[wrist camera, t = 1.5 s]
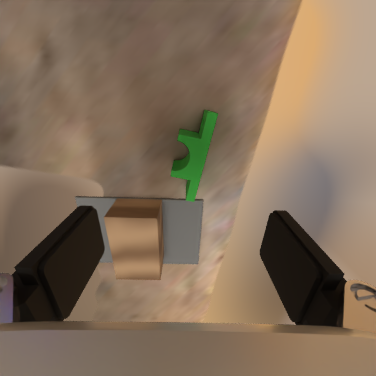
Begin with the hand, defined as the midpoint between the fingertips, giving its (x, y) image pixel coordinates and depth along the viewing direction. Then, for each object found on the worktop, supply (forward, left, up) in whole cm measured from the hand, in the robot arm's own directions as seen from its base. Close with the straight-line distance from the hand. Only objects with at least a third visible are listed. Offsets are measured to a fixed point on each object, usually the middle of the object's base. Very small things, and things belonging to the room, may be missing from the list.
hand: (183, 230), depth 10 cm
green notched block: (0, +1, -18) cm, 18 cm away
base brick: (+14, -7, -17) cm, 23 cm away
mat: (+15, -7, -17) cm, 24 cm away
